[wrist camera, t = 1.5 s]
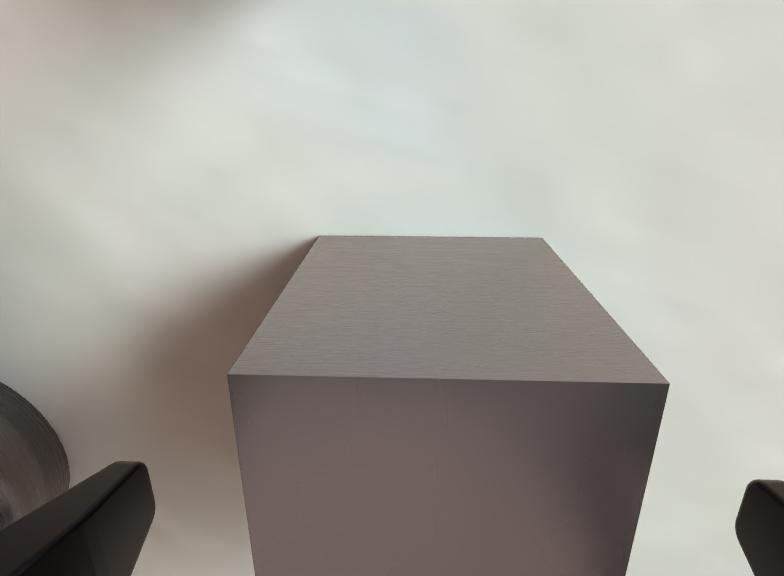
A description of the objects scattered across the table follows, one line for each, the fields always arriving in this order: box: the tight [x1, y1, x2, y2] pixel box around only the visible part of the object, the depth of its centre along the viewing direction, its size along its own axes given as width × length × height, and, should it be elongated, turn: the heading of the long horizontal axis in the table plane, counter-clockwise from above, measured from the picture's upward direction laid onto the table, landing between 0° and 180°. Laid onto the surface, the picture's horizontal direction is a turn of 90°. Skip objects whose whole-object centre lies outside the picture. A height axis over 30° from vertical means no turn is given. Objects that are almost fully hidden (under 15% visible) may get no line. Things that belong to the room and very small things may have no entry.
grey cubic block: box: [227, 236, 670, 576], centre depth 9 cm, size 5×5×6 cm
